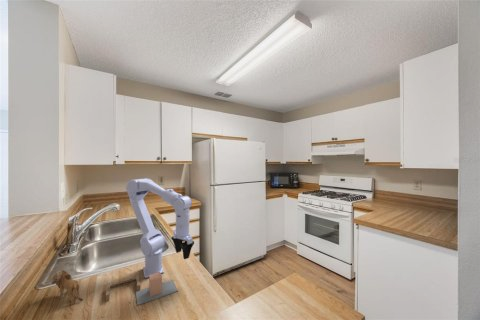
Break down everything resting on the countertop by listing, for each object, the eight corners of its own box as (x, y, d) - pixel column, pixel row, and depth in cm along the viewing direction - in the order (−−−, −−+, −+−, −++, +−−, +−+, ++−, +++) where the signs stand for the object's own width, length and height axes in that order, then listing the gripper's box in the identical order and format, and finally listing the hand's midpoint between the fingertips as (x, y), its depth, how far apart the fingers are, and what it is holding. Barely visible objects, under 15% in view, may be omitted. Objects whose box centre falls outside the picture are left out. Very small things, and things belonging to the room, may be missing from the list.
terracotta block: (149, 290, 75) (149, 275, 75) (159, 286, 77) (160, 271, 77) (150, 296, 71) (150, 280, 71) (161, 292, 74) (161, 276, 74)
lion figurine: (47, 298, 71) (47, 274, 71) (63, 289, 76) (64, 266, 76) (75, 307, 67) (75, 281, 67) (90, 296, 72) (91, 272, 72)
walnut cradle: (107, 288, 76) (107, 282, 76) (138, 279, 82) (138, 273, 82) (105, 302, 69) (106, 295, 69) (140, 291, 75) (140, 284, 75)
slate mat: (135, 292, 74) (135, 291, 74) (172, 280, 82) (172, 279, 82) (137, 305, 67) (137, 304, 67) (177, 291, 75) (177, 290, 75)
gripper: (167, 222, 87) (167, 252, 86) (181, 230, 76) (180, 264, 76) (181, 219, 91) (181, 247, 91) (196, 226, 81) (196, 258, 80)
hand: (182, 255), depth 84 cm, fingers open, 7 cm apart
